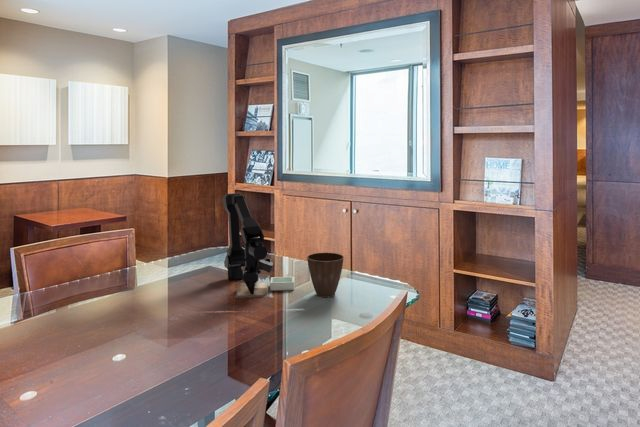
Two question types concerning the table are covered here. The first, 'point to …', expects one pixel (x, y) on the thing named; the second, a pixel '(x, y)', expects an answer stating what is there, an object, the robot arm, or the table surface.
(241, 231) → the robot arm
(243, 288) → the lid
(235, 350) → the table surface
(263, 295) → the mat
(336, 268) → the plant pot
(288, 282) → the dish
